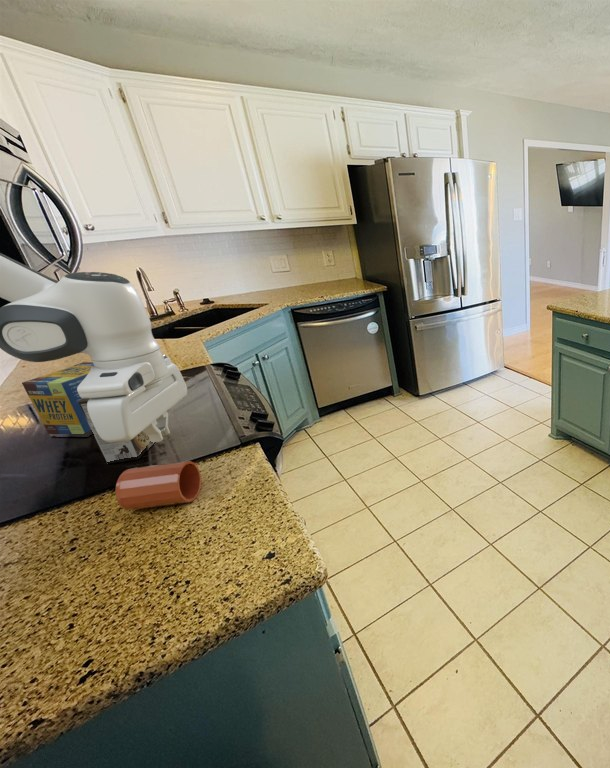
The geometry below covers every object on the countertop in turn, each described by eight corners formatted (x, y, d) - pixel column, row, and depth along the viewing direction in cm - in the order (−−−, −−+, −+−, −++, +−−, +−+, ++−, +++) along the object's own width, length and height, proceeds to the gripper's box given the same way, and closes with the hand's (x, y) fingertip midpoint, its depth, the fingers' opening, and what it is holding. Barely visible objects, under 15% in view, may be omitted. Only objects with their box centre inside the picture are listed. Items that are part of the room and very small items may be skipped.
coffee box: (127, 445, 100) (101, 385, 94) (158, 441, 102) (134, 382, 96) (106, 465, 92) (75, 401, 86) (140, 460, 94) (112, 397, 88)
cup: (109, 484, 73) (172, 476, 75) (135, 460, 80) (193, 453, 82) (125, 519, 76) (186, 510, 78) (150, 493, 83) (205, 485, 85)
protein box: (48, 438, 105) (19, 382, 99) (107, 411, 119) (84, 361, 113) (86, 438, 104) (59, 383, 98) (141, 411, 118) (120, 361, 112)
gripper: (147, 352, 79) (171, 415, 84) (67, 393, 60) (104, 471, 66) (184, 349, 80) (205, 412, 86) (117, 389, 62) (149, 465, 67)
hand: (161, 438), depth 76 cm, fingers closed
